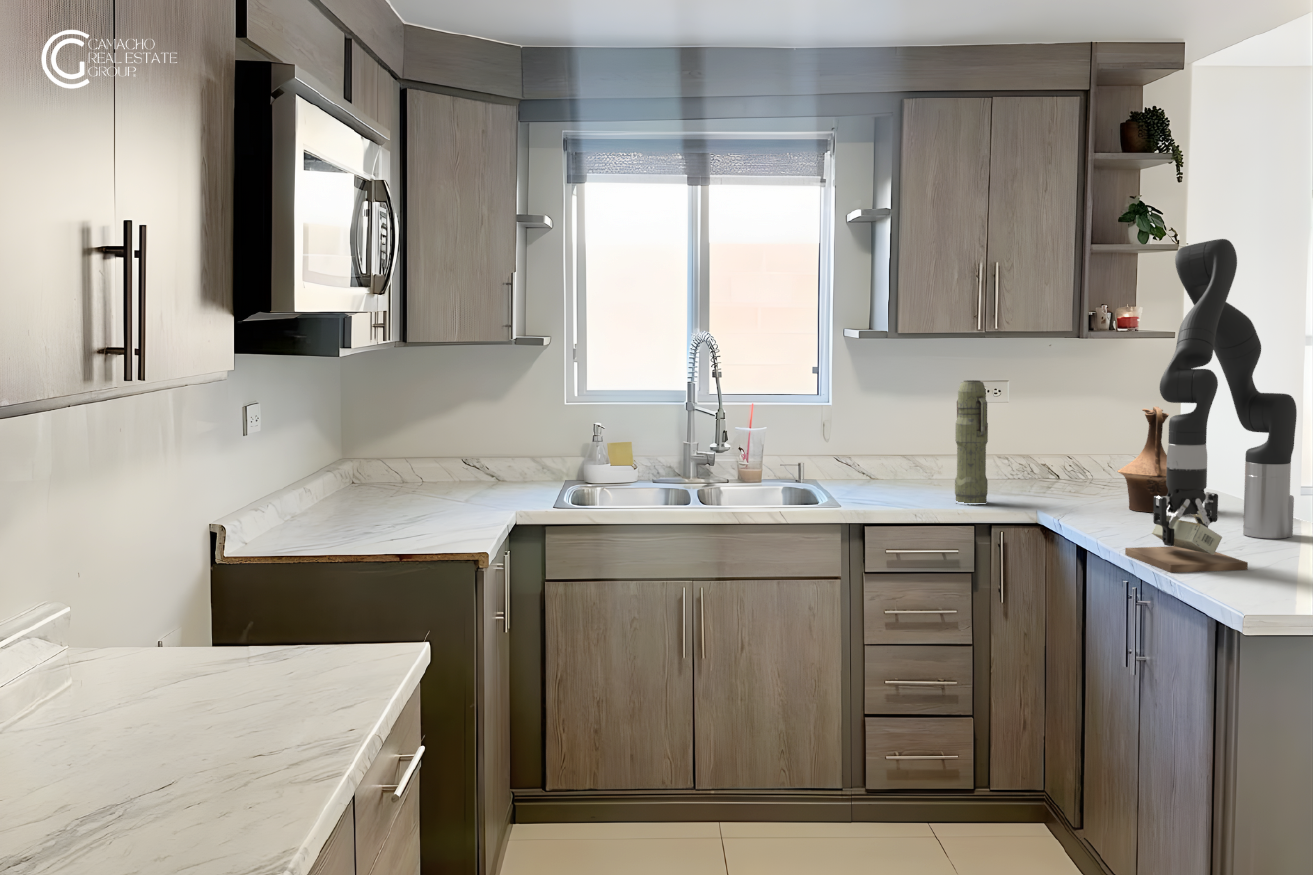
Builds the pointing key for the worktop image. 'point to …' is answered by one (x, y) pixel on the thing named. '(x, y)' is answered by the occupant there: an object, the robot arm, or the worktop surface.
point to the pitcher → (1148, 466)
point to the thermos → (971, 443)
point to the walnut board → (1185, 559)
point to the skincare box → (1192, 536)
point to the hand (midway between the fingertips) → (1184, 544)
